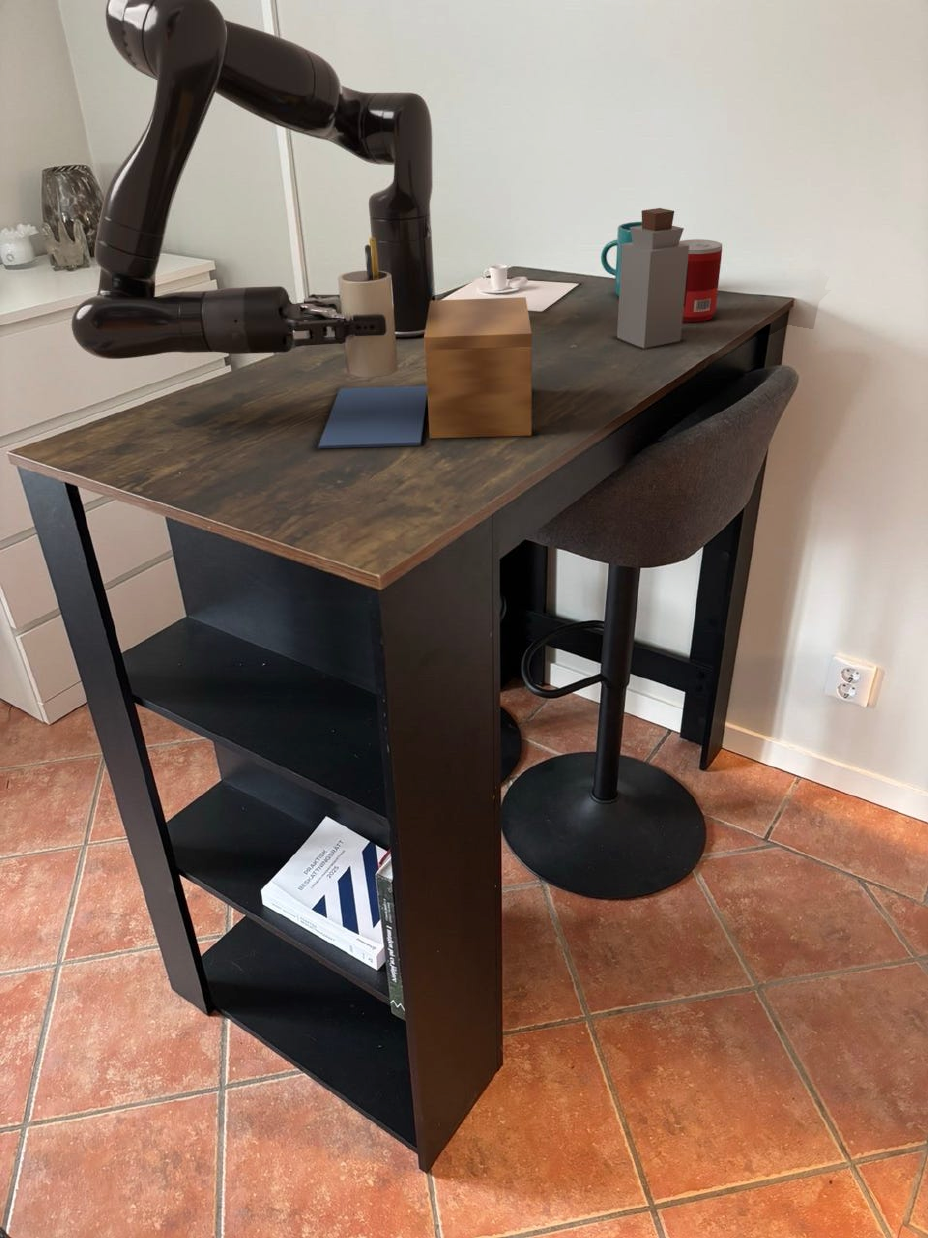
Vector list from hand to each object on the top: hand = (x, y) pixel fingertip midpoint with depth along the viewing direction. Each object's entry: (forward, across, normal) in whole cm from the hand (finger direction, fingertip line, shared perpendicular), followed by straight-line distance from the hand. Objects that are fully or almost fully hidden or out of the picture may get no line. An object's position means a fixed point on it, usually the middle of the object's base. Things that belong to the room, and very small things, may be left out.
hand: (387, 316), depth 108 cm
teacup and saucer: (+16, +60, +12) cm, 63 cm away
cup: (+38, +56, +12) cm, 69 cm away
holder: (-2, 0, +6) cm, 7 cm away
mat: (-2, 0, +12) cm, 13 cm away
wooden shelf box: (+11, 0, +12) cm, 16 cm away
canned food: (+45, +41, +12) cm, 62 cm away
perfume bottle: (+36, +29, +12) cm, 48 cm away
